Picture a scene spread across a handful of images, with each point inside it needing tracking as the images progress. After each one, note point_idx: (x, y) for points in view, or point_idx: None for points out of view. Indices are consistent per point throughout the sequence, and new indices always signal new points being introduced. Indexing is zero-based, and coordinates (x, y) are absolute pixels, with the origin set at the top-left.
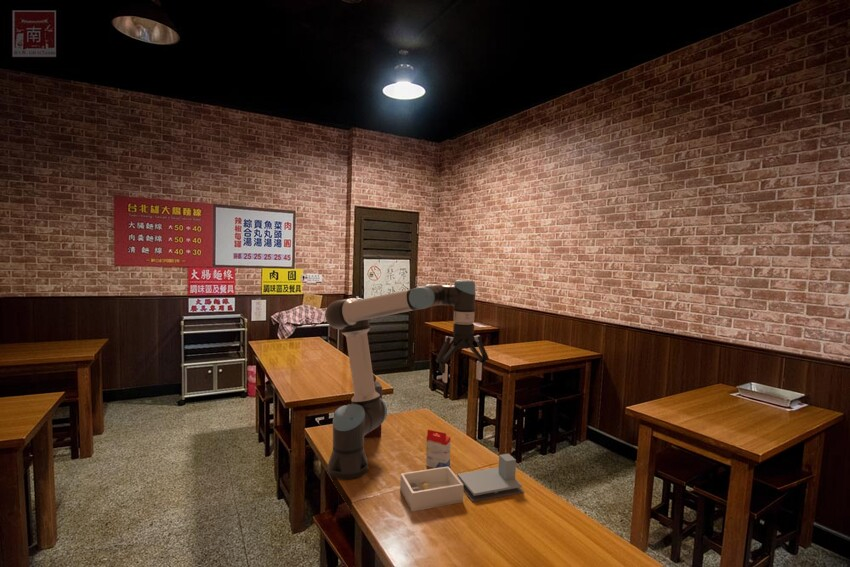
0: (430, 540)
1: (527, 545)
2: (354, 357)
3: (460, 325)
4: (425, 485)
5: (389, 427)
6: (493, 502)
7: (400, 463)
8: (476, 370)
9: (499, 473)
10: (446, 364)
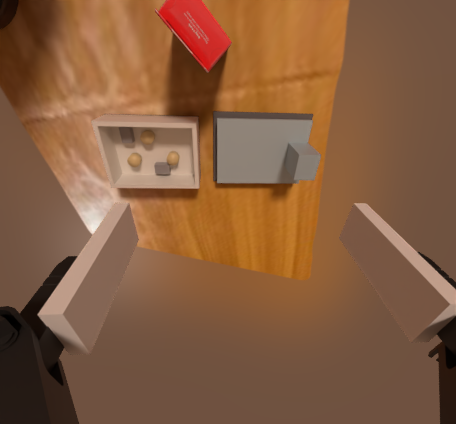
0: (138, 225)
1: (232, 252)
2: None
3: None
4: (145, 143)
5: None
6: (241, 188)
7: None
8: (385, 238)
9: (288, 146)
10: (78, 346)
